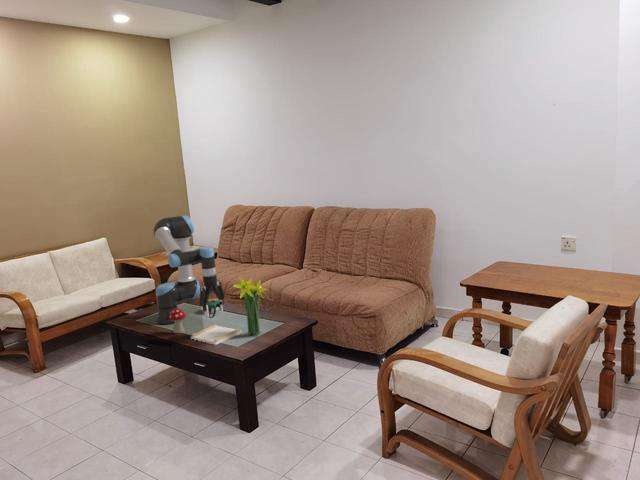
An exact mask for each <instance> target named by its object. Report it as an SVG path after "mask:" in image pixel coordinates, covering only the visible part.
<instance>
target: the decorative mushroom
mask: <svg viewBox="0 0 640 480" xmlns="http://www.w3.org/2000/svg"><path fill="white" fill-rule="evenodd" d="M185 318H187V316H186V313H185V312H184V311H183V310H182V308H176V309H173V310H172V311H171V312H170V314H169V319H170V320H174V321H175V322H173V326H174V327H173V330H172V332H173V334H174V333H183V334H185V331H186V330H185V328H184V326H183V322H182V320H184V319H185Z"/></svg>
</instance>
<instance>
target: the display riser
mask: <svg viewBox="0 0 640 480" xmlns="http://www.w3.org/2000/svg"><path fill="white" fill-rule="evenodd" d="M240 334H242V330H241V329H240V328H231V327H225V326H221V325H218V324H212V325H211V326H207V327H206V328H203V329H201V330H198V331H196V332H194V333H192V334H191V336H190V339H191V340H192V339H194V340H193V341H196V340H198V342H201V341H202V342H201V343H205V342H206V343H205V344H210V345H214V346H216V345H218V344H221V343H223V342H225V341H228V340H229V339H232V338H233V337H236V336H238V335H240Z"/></svg>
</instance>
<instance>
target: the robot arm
mask: <svg viewBox="0 0 640 480" xmlns="http://www.w3.org/2000/svg"><path fill="white" fill-rule="evenodd" d="M194 228H195V227H194V224H193V221H192V218H191V217H189V216H188V215H176V216H170V217H163V218H161V219H160V220H158V221H157V222H156V223H155V224H154V227H153V230H152V231H153V237H154V238H155V239H156V240H157V241H158V242H159V243H160V244H161V245H162V247H163V249H164V250H165V251H166V254H167V262H168V265H169V267H170V268H177V270H178V278H177V279H176V282H177V283H175V282H173V281H169V282H164V283H161V284H159V285H157V287H156V288H155V296H156V303H157V313H156V314H157V315H156V323H157V324H161V325H162V324H163V325H164V324H165V325H166V324H174V322H175V321H174V320H170V319H169V314H170V312H171V311H172V310H173V309H176V308H178V303H179V302H180V303H181V302H184V301H189V300H193V299H197V298H198V297H199V306H202V311H203V315H204V314H205V315H204V317H207V318H209V311H208V305H207V301H208V300H209V297H210V294H211V293H212V292H214V294H215V296H216V297H217V298H218V299H219V300H218V301H221V302H222V301H224V300H225V298H226V295H225V292H224V289H223V287H222V282H221V281H218V278H217V270H216V269H217V268H216V261H215V260H216V258H215V251H214V248H213V247H212V246H206V247H201V248H197V249H194V250H191V245H190V239H191V237H192V234H193V233H194ZM196 264H201V265H200V266H201V272H202V273H201V274H202V280H203V281H202V282H203V284H204V285H203V286H200V281H199V279H197V278H196V277H195V276H194V272H193V265H196ZM178 309H179V308H178ZM218 309H219V312H223V311H224V307H223V305H220V307H218Z"/></svg>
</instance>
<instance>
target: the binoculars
mask: <svg viewBox="0 0 640 480" xmlns="http://www.w3.org/2000/svg"><path fill="white" fill-rule="evenodd" d="M207 305H208V311H209V317H208V318H209V319H213V318H214V317H215V315H216V314H217V313H216V308H217V307H220V305H222V306H224V305H225V301H224V300H223V301H222V302H221V301H215V300H213V301H207ZM212 309H214V313H211V310H212ZM211 314H212V316H211ZM203 316H205V314H204V313H203Z"/></svg>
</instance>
